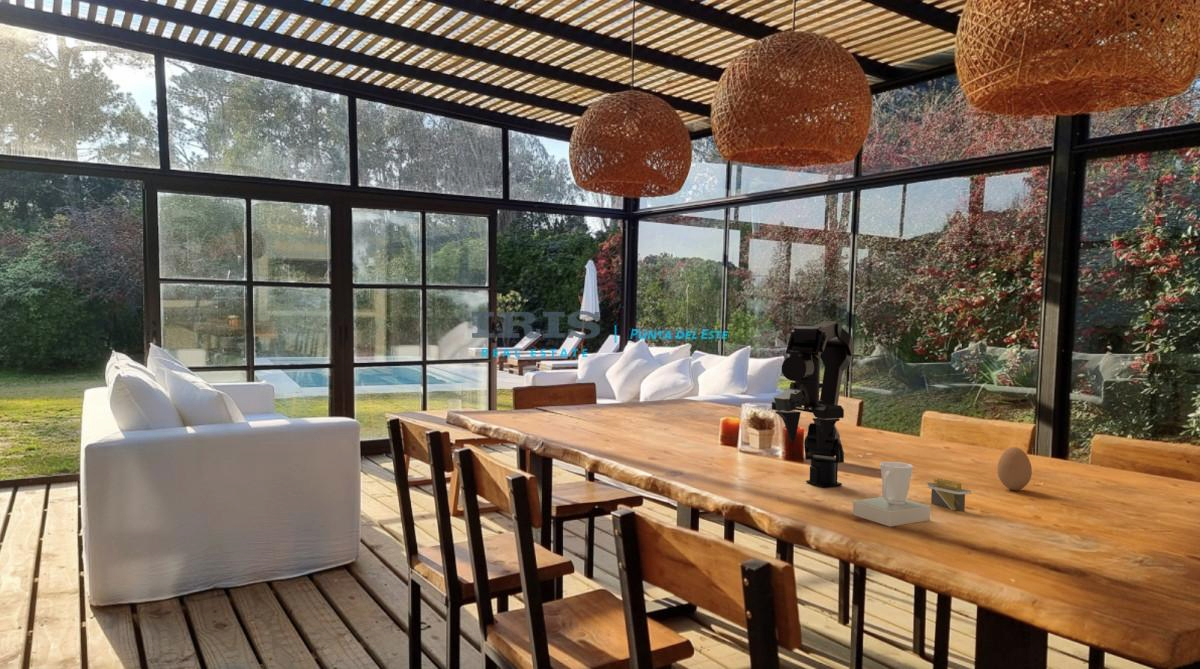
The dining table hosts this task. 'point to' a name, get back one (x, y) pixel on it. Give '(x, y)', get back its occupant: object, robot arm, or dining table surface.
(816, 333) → the robot arm
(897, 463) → the cup
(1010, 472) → the egg
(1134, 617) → the dining table surface
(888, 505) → the slab
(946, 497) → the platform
